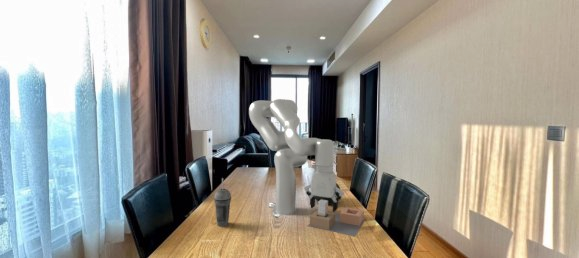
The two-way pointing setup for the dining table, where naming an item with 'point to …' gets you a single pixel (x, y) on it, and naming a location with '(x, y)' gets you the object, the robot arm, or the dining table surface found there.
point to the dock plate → (339, 221)
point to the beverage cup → (222, 206)
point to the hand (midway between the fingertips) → (323, 209)
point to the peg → (323, 208)
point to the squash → (328, 198)
